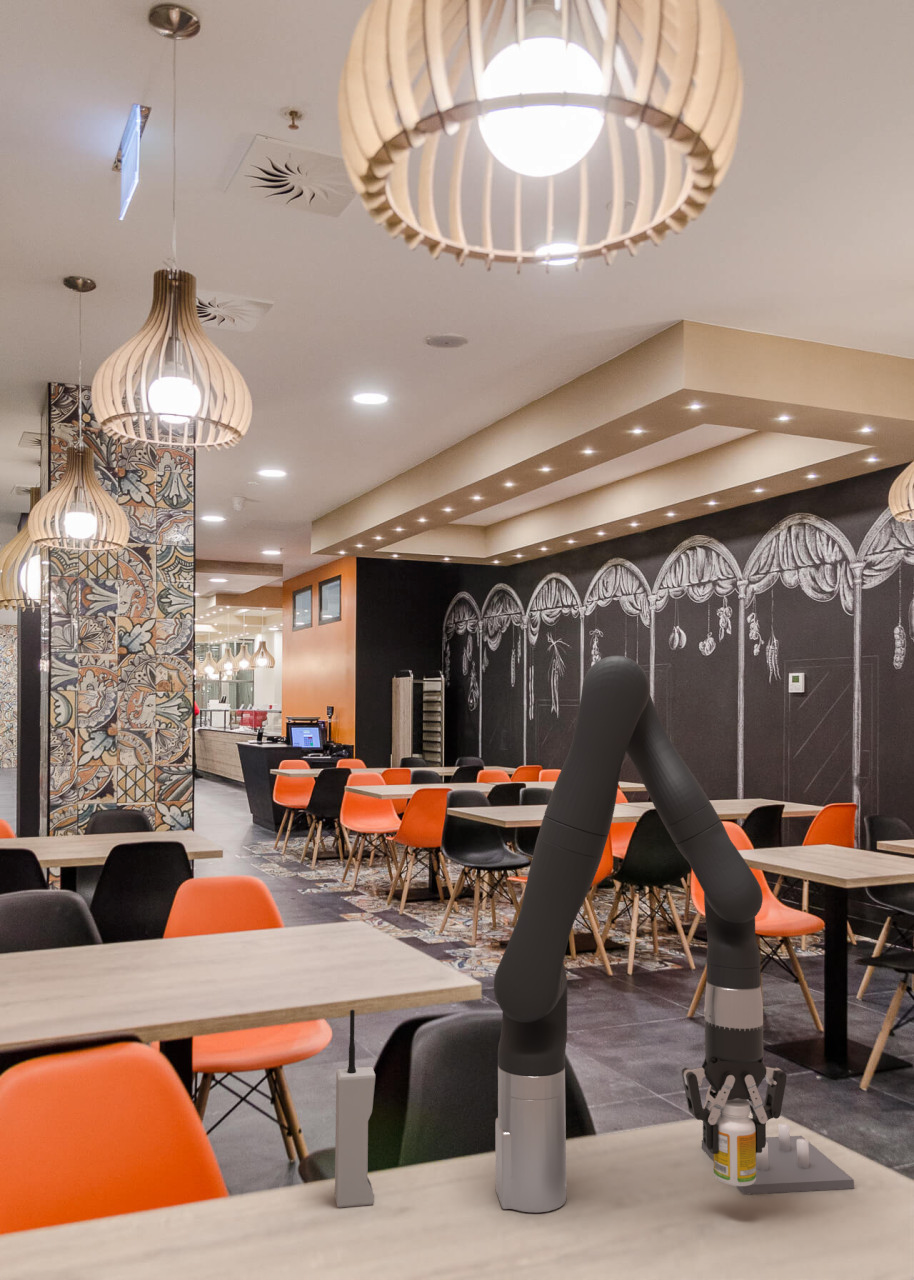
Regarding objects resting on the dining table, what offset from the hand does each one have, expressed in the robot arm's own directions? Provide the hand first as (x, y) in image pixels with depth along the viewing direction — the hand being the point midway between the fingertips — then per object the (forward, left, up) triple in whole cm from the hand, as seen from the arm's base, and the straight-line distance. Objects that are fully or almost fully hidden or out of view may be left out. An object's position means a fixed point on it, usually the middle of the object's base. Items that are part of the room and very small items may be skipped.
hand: (734, 1150), depth 131 cm
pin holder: (+11, +14, -8) cm, 20 cm away
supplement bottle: (0, 0, -4) cm, 4 cm away
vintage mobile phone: (-50, +10, -8) cm, 51 cm away
